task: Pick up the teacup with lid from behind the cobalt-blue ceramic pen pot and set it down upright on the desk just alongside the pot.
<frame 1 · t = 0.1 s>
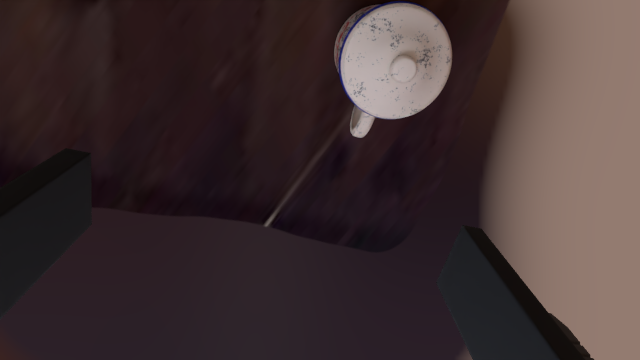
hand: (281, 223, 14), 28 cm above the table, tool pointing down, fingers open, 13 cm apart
teacup with lid: (370, 65, 39), on the table
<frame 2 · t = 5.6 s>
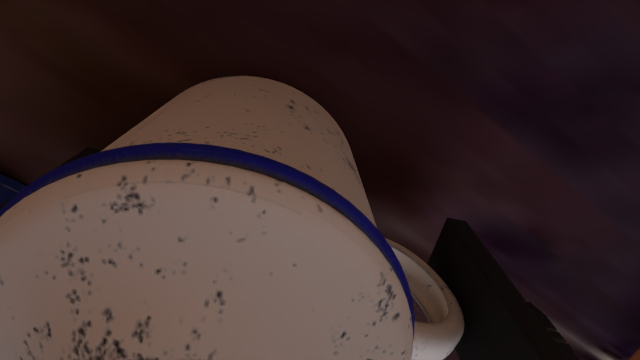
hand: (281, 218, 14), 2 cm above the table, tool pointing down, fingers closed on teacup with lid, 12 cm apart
teacup with lid: (284, 187, 16), on the table, touching gripper
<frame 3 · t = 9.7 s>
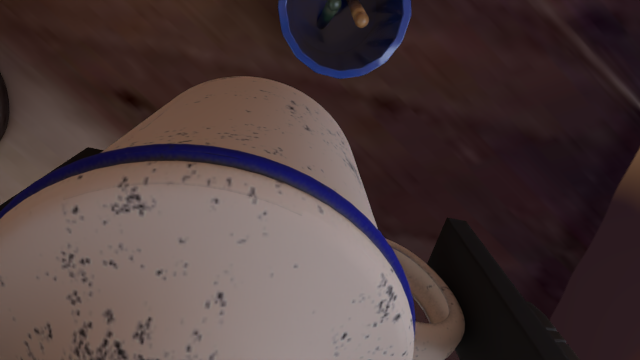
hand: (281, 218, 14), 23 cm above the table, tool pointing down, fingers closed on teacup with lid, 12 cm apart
pen pot: (334, 9, 32), on the table
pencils: (340, 11, 26), in the pen pot, point 6 cm above the table
teacup with lid: (285, 188, 16), point 20 cm above the table, touching gripper
when the fingers open (2 cm above the table, at t = 14.1 s): teacup with lid stays where it is, on the table.
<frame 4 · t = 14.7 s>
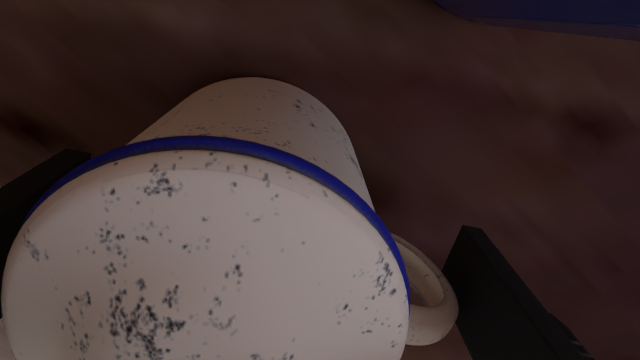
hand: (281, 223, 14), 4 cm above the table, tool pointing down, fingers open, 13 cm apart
teacup with lid: (290, 183, 17), on the table
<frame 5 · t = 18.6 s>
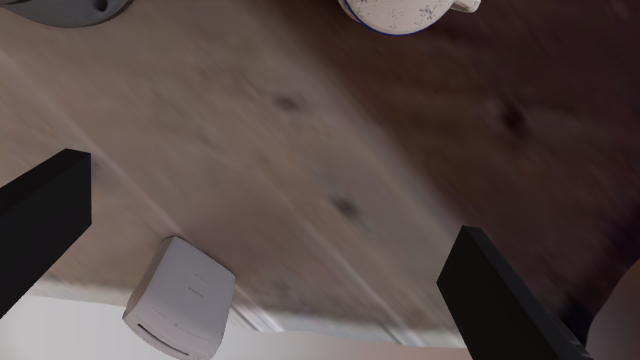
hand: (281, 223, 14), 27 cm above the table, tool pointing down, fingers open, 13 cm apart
photo printer: (199, 262, 47), on the table
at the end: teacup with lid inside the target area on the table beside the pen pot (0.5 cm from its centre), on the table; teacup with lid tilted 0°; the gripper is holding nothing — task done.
